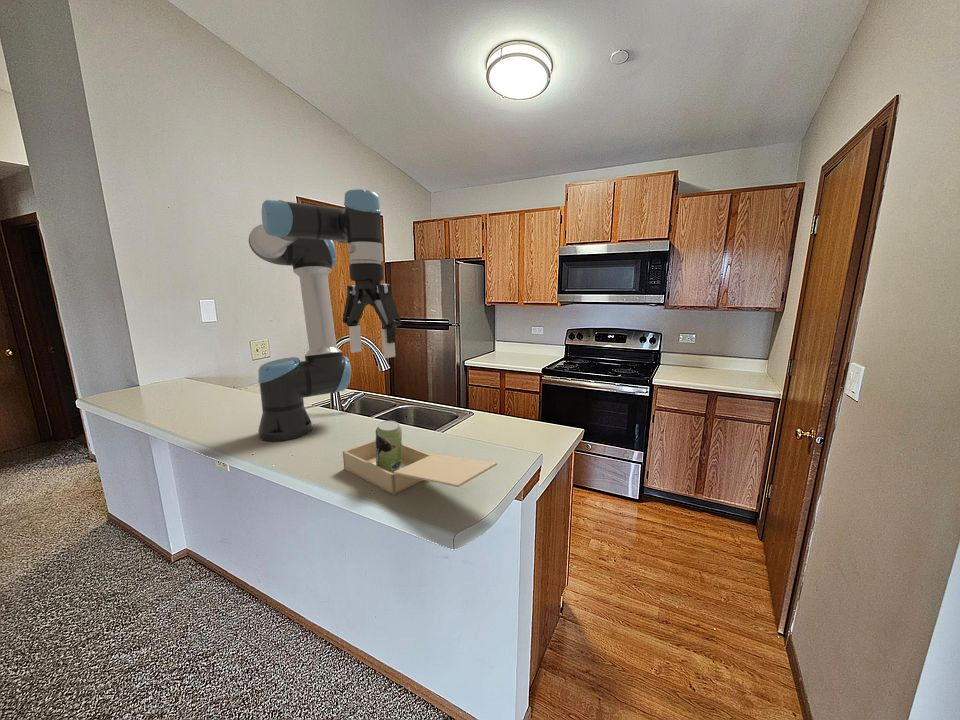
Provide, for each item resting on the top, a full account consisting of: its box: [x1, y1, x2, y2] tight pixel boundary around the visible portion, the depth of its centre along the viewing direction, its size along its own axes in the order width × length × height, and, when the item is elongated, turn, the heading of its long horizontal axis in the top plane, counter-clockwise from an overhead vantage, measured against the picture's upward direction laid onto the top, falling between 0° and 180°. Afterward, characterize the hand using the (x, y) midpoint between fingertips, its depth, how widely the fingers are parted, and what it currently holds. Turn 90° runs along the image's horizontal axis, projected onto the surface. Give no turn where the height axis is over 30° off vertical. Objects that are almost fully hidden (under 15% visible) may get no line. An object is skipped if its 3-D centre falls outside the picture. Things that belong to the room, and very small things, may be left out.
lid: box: [394, 453, 498, 488], centre depth 79 cm, size 19×12×1 cm, turn 50°
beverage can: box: [375, 420, 403, 472], centre depth 91 cm, size 6×7×12 cm
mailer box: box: [342, 439, 432, 496], centre depth 92 cm, size 20×12×5 cm, turn 50°
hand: (372, 354), depth 90 cm, fingers open, 13 cm apart
